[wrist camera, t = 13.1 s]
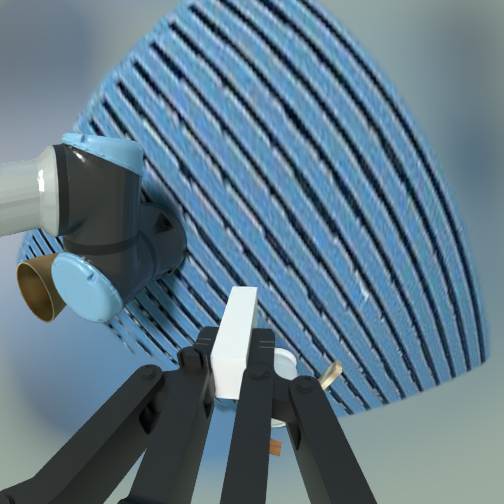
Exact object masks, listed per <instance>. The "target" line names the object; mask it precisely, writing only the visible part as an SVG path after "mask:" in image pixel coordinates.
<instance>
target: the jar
mask: <svg viewBox="0 0 504 504" xmlns="http://www.w3.org/2000/svg"><path fill="white" fill-rule="evenodd" d="M296 364H297V361H296V358H295V356H294V355H293V354H292V353H291V352H289V351H287V350H285V349H282V348H275V352H274V370H275V372H276V373H277V374H278V375H279V376H281V377H282V378H285V379H288V380H293V379H294V378H295V377H298V375H297V370H296ZM285 425H286V424H285V422H282V421H279V420H276V419H272V418H271V427H280V426H285Z"/></svg>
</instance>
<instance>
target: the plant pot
mask: <svg viewBox="0 0 504 504" xmlns="http://www.w3.org/2000/svg"><path fill="white" fill-rule="evenodd" d="M58 254H60V253H55V254H49V255H43V256H39V257H36V258H32V259H29V260H26V261H23V262H21V263H19V264H18V266H17V272H16V273H17V274H16V275H17V282H18V286H19V289H20V292H21V294H22V297H23V299H24V301H25V302H26V304H27V306H28V307H29V308H30V310H31V311H32V312H33V313H34V315H36V316H37V317H38V318H39V319H40V320H42V321H44V322H46V323H50V322H52V321H53V320H54V319H55V317H56V316H57V315H58V314H59V313H60V312H61V311H62V309H63V308H64V307H65V306H66V305H67V304H66V303H65V302H64V300H63V299H62V297H61V296H60V294H59V293H58V291H57V289H56V287H55V284H54V281H53V278H52V263H53V262H54V260H55V258H56V257H57V255H58Z"/></svg>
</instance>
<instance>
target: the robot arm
mask: <svg viewBox="0 0 504 504" xmlns="http://www.w3.org/2000/svg"><path fill="white" fill-rule="evenodd" d="M61 143H62V144H60V145H49V146H48V147H47V148H46V149H45V150H44V151H43V152H42V154H41V155H40V156H39V157H38V158H37V159H32V160H25V161H18V162H12V163H6V164H1V165H0V237H2V236H6V235H11V234H15V233H19V232H24V231H28V230H33V229H37V228H41V229H43V230H44V231H46V232H47V233H48V234H49V235H51V236H52V237H58V236H63V246H64V252H63V253H60V254H58V255H57V257H56V258H55V260H54V262H53V263H52V278H53V281H54V284H55V287H56V289H57V291H58V293H59V294H60V296H61V297H62V299H63V300H64V302H65V303H66V304H67V305H68V306H69V307H70V308H71V309H72V310H73V311H74V312H75V313H76V314H78V315H79V316H81V317H82V318H84V319H86V320H88V321H91V322H96V323H102V322H105V321H108V320H109V319H110V318H112V317H113V316H114V315H115V314H117V313H119V312H121V310H122V309H123V308H124V307H125V305H126V304H127V303H128V302H129V301H130V300H131V299H133V298H134V297H135V296H136V295H137V294H138V293H139V292H140V291H141V290H142V289H143V288H144V287H145V286H146V285H147V284H148V283H149V282H150V281H154V280H157V279H161V278H164V277H167V276H169V275H170V274H172V273H173V272H174V271H175V270H176V269H177V268H178V267H179V266H180V265H181V264H182V262H183V260H184V258H185V255H186V250H187V241H186V235H185V232H184V229H183V227H182V225H181V223H180V221H179V220H178V218H177V217H176V216H175V215H174V214H173V213H172V212H171V211H170V210H169V209H167V208H166V207H164V206H162V205H160V204H157V203H152V202H146V203H141V204H140V196H141V183H142V177H143V175H144V174H143V172H142V165H143V149H142V147H141V145H140V144H139V143H137V142H135V141H131V140H125V139H118V138H111V137H103V136H94V135H85V134H76V133H65V134H64V135H63V138H62V139H61ZM274 352H275V334H274V332H273V331H272V329H260V328H257V287H232V291H231V294H230V297H229V300H228V303H227V306H226V309H225V312H224V315H223V318H222V322H221V325H220V327H209V326H206V327H205V328H203V329H202V330H201V331H200V333H199V335H198V338H197V340H196V342H195V345H194V346H189V347H185V348H183V349H181V350H180V351H179V352H178V353H177V357H178V362H179V366H180V368H179V369H177V370H173V371H164V372H162V370H161V368H160V367H158V366H156V365H151V364H150V365H144V366H142V367H140V368H139V369H137V370H136V371H135V372H134V373H133V374H132V375H131V376H130V378H129V379H128V380H127V381H126V382H125V383H124V384H123V385H122V386H121V387H120V388H119V389H118V390H117V391H116V392H115V393H114V394H113V395H112V396H111V397H110V398H109V399H108V400H107V401H106V402H105V403H104V404H103V405H102V406H101V408H100V409H99V410H98V411H97V412H96V413H95V414H94V415H93V416H92V417H91V418H90V419H89V420H88V421H87V422H86V423H85V424H84V425H83V426H82V427H81V428H80V429H79V430H78V432H76V433H75V434H74V435H73V436H72V438H71V439H70V440H69V441H68V442H67V443H66V444H65V445H64V446H63V447H62V448H61V449H60V450H59V451H58V452H57V453H56V454H55V455H54V456H53V457H52V458H51V459H50V460H49V461H48V462H47V463H46V464H45V466H44V467H43V468H42V469H41V470H40V471H39V472H38V473H37V474H36V475H35V476H34V477H33V478H31V479H28V480H26V481H24V482H22V483H19V484H17V485H14V486H12V487H9V488H7V489H4V490H2V491H0V504H103V503H104V502H105V501H106V499H107V498H108V497H109V496H110V494H111V493H112V492H113V491H114V489H115V488H116V487H117V486H118V484H119V483H120V482H121V481H122V479H123V478H124V476H125V475H126V474H127V473H128V471H129V470H130V469H131V468H132V466H133V465H134V464H135V462H136V461H137V460H138V458H139V457H140V456H141V454H142V453H143V452H144V451H145V449H146V448H147V449H146V451H145V454H144V457H143V459H142V462H141V464H140V467H139V469H138V472H137V474H136V477H135V480H134V482H133V485H132V488H131V490H130V493H129V495H128V496H127V497H126V498H124V499H121V500H120V501H119V502H118V503H117V504H190V503H191V499H192V495H193V491H194V487H195V483H196V479H197V475H198V470H199V466H200V462H201V458H202V454H203V450H204V446H205V442H206V438H207V433H208V429H209V425H210V421H211V417H212V413H213V409H214V399H213V398H214V394H215V393H216V397H217V398H227V399H238V405H237V411H236V417H235V423H234V429H233V434H232V439H231V445H230V451H229V456H228V462H227V467H226V473H225V478H224V483H223V489H222V494H221V500H220V504H265V501H266V489H267V477H268V464H269V463H268V462H269V450H270V434H271V418H272V419H276V420H279V421H282V422H285V424H286V427H287V431H288V434H289V437H290V440H291V443H292V446H293V449H294V453H295V456H296V459H297V462H298V465H299V469H300V472H301V475H302V478H303V481H304V484H305V487H306V490H307V493H308V497H309V500H310V502H311V504H377V502H376V500H375V498H374V496H373V494H372V492H371V490H370V487H369V485H368V483H367V481H366V479H365V477H364V475H363V473H362V470H361V468H360V466H359V464H358V462H357V460H356V458H355V456H354V453H353V451H352V449H351V447H350V445H349V443H348V441H347V439H346V437H345V435H344V432H343V430H342V428H341V426H340V424H339V422H338V420H337V418H336V416H335V413H334V411H333V409H332V407H331V405H330V403H329V401H328V399H327V397H326V395H325V393H324V390H323V388H322V386H321V384H320V383H319V381H318V380H317V379H315V378H313V377H311V376H298V377H295V378H294V379H293V380H288V379H285V378H282V377H281V376H279V375H278V374H277V373H276V372H275V370H274Z"/></svg>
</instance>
